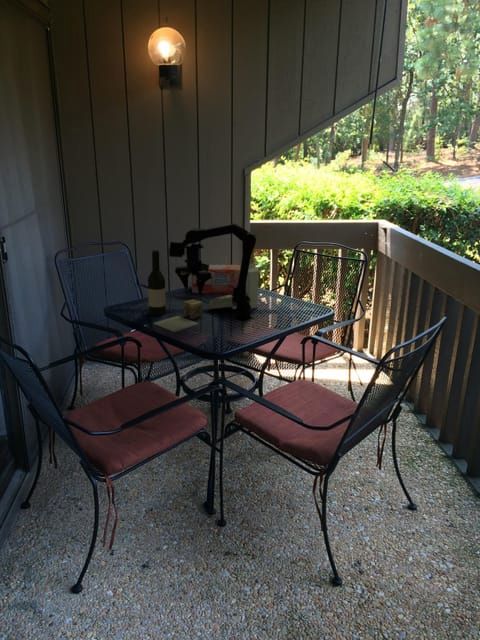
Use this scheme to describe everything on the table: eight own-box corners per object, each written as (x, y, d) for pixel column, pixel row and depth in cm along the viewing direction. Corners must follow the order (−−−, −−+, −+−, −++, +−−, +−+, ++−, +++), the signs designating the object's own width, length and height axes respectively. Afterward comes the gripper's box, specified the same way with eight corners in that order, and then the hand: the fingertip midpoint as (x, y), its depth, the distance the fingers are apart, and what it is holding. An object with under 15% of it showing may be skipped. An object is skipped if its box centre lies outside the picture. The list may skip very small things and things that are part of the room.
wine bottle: (162, 316, 228) (160, 252, 218) (145, 315, 230) (143, 251, 220) (168, 311, 236) (167, 248, 226) (152, 309, 237) (150, 247, 227)
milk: (257, 307, 244) (259, 264, 237) (248, 310, 240) (250, 265, 233) (248, 304, 248) (250, 261, 241) (240, 307, 244) (241, 263, 237)
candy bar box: (223, 295, 247) (247, 292, 236) (225, 304, 248) (249, 302, 236) (207, 299, 239) (231, 296, 228) (209, 309, 240) (233, 307, 228)
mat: (198, 324, 219) (198, 323, 219) (174, 332, 209) (174, 331, 209) (177, 317, 228) (177, 315, 228) (153, 324, 218) (153, 322, 218)
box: (238, 287, 280) (239, 263, 275) (241, 293, 268) (242, 268, 264) (190, 287, 276) (190, 263, 272) (192, 294, 264) (191, 269, 260)
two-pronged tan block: (202, 316, 230) (202, 301, 227) (192, 319, 226) (192, 304, 223) (193, 313, 234) (193, 299, 231) (183, 316, 229) (183, 301, 227)
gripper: (220, 258, 221) (220, 292, 226) (192, 252, 232) (192, 284, 238) (202, 262, 213) (202, 296, 218) (174, 255, 225) (174, 288, 230)
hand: (193, 291), depth 226 cm, fingers open, 9 cm apart
